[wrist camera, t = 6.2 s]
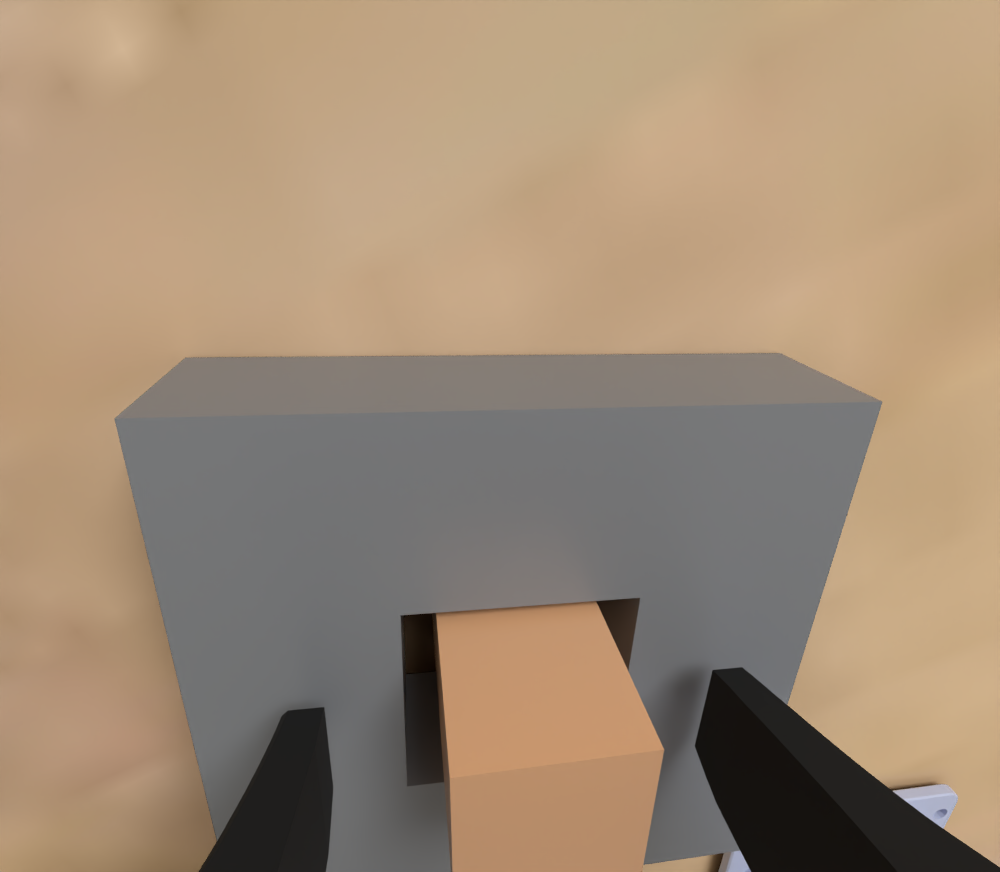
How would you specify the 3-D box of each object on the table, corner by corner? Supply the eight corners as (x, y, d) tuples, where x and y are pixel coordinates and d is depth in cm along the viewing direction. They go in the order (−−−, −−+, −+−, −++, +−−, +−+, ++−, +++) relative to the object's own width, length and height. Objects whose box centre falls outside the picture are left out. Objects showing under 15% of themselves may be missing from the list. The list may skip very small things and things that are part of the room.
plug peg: (553, 622, 15) (640, 880, 10) (433, 635, 14) (453, 910, 9) (559, 521, 14) (664, 749, 8) (429, 530, 13) (450, 778, 8)
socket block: (688, 745, 18) (741, 850, 15) (265, 795, 16) (237, 924, 13) (780, 353, 13) (882, 401, 10) (185, 357, 11) (114, 418, 8)
